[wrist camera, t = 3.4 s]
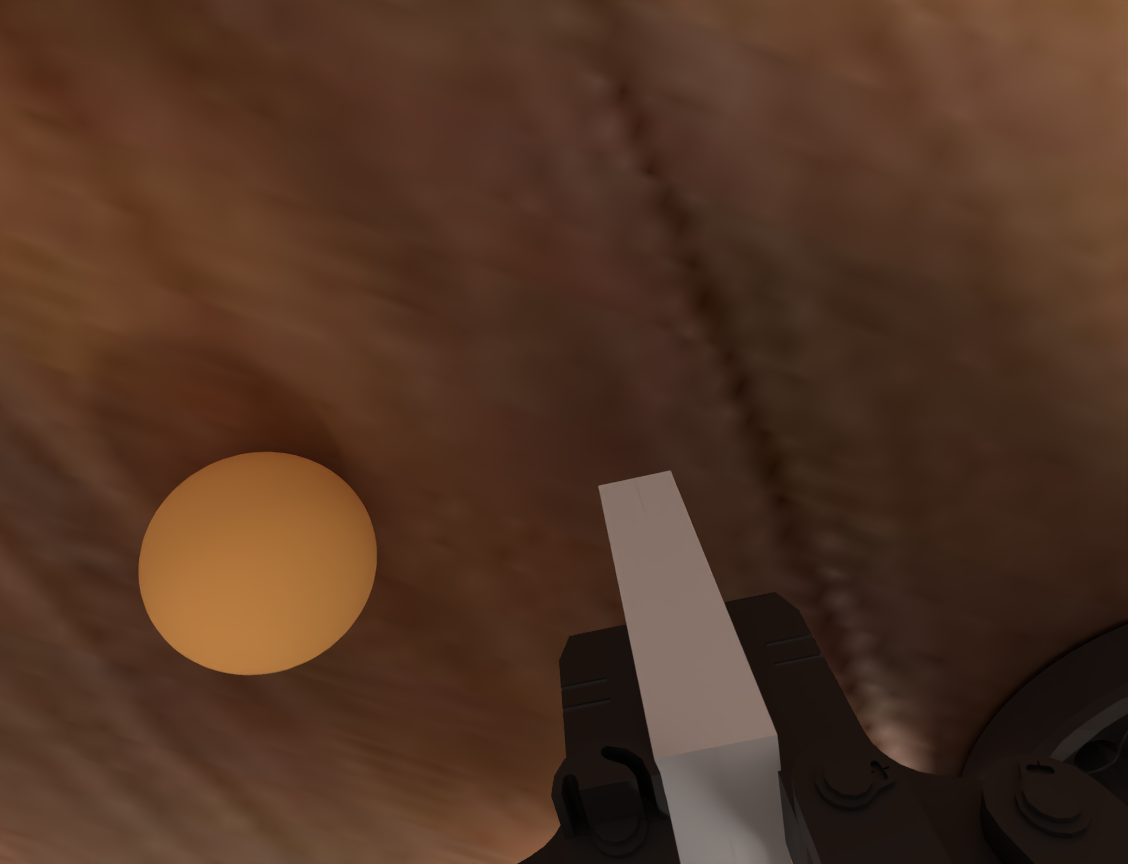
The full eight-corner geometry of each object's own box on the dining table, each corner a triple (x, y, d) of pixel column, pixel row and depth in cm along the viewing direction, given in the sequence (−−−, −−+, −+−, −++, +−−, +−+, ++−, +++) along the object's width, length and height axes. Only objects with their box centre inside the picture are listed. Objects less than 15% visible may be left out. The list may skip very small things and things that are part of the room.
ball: (356, 398, 19) (298, 501, 14) (416, 562, 22) (384, 700, 17) (162, 441, 19) (38, 557, 14) (242, 598, 22) (159, 746, 17)
